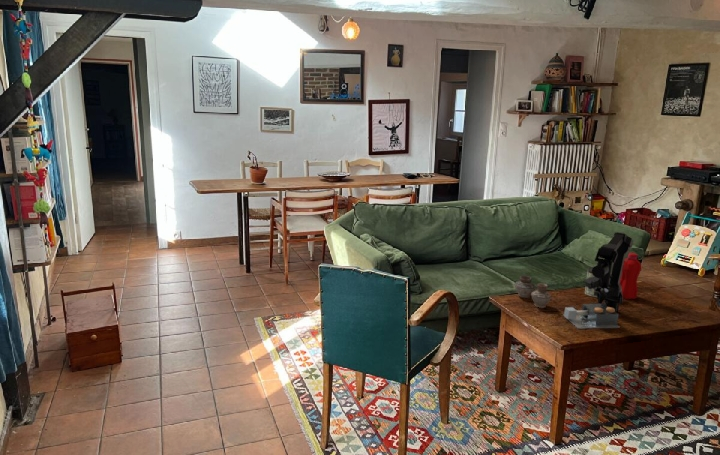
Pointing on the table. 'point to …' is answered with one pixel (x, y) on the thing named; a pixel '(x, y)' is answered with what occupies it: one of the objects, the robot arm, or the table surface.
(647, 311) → the table surface
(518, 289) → the pottery
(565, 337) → the table surface
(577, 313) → the cube-topped plunger
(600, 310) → the plunger
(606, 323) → the grey slotted base
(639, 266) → the water bottle
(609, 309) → the plunger
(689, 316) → the table surface
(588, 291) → the coffee can
